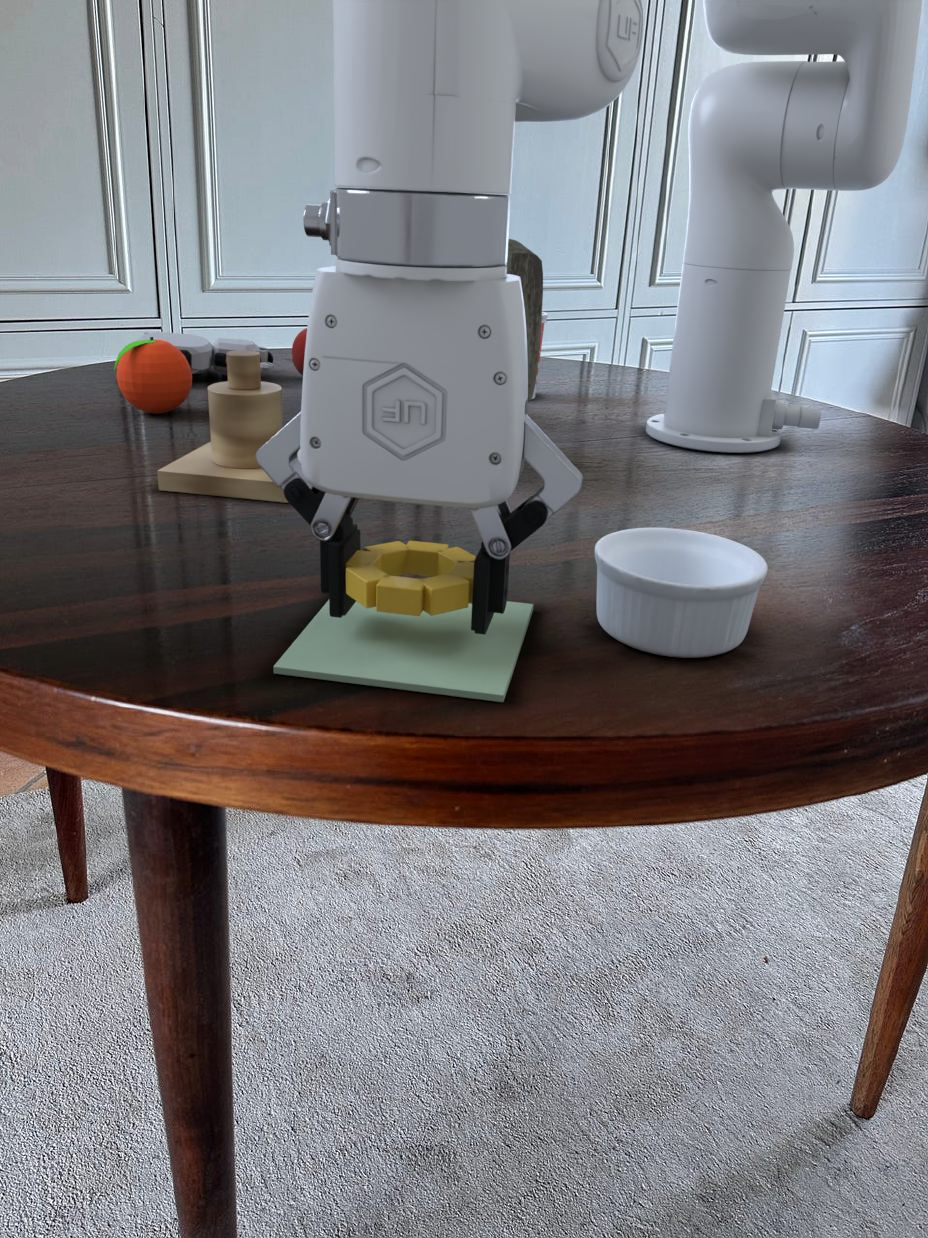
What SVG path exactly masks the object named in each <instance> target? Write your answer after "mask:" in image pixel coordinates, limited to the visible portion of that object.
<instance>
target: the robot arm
mask: <svg viewBox="0 0 928 1238" xmlns="http://www.w3.org/2000/svg"><path fill="white" fill-rule="evenodd" d="M702 5H703V15H704V23H705V28H706V32H707V35H708V38H709V39H710V42H712V43H713V45H714V46H715V47H716V48H718V49H720V50H721V51H723V52H726V53H731V54H736V55H746V56H805V55H806V56H808V55H809V56H810V55H835V56H836V55H837V56H839V57H841V58H842V60H843V61H841V60H840V61H806V60H793V61H792V60H784V61H783V60H778V61H777V60H776V61H773V60H772V61H771V60H769V61H768V60H767V61H750V62H741V63H737V64H732V65H728V66H724V67H723V68H720V69H718V70H716V71H714V72H712V73H711V74H710V75H708V76H707V77H706V78H705V79H704V80H703V81H702V82H701V84H700V85H699V86H698V88H697V90H696V91H695V93H694V96H693V97H692V101H691V104H690V109H689V115H688V125H687V126H688V127H687V140H688V142H687V143H688V164H689V165H688V170H689V171H688V172H689V174H688V175H689V176H688V177H689V180H688V184H689V185H688V186H689V187H688V208H687V221H686V232H685V240H684V249H683V257H682V265H681V273H680V282H679V288H678V298H677V306H676V314H675V321H674V322H675V323H674V330H673V338H672V347H671V354H670V355H671V357H670V362H669V363H670V364H669V371H668V379H667V387H666V388H667V389H666V396H665V403H664V404H665V405H664V413H659V414H655V415H652V416H651V417H649V418H648V419H647V420H646V424H645V426H646V427H645V432H646V433H647V435H648V436H650V437H651V438H653V439H654V440H657V441H659V442H661V443H665V444H667V445H672V446H675V447H678V448H679V447H680V448H683V449H689V450H697V451H704V452H714V453H731V454H733V453H734V454H735V453H737V454H741V453H746V454H747V453H756V452H757V453H759V452H765V451H771V450H773V449H775V448H776V447H778V446H779V445H780V444H781V439H782V436H783V435H782V430H783V428H784V426H788V427H797V428H799V429H811V430H818V429H819V427H820V424H821V418H822V409H821V407H813V406H812V407H810V406H804V404H796V403H789V404H788V403H786V402H784V401H779V400H778V399H777V397H776V395H775V394H774V392H773V389H772V388H773V382H774V375H775V369H776V363H777V358H778V351H779V346H780V339H781V334H782V327H783V321H784V315H785V310H786V304H787V303H786V302H787V297H788V292H789V285H790V278H791V272H792V267H793V264H794V263H793V262H794V255H795V241H794V237H793V236H794V235H793V232H792V229H791V227H790V225H789V223H788V221H787V218H786V217H785V215H784V214H783V212H782V210H781V209H780V207H779V205H778V203H777V202H776V200H775V197H774V195H773V192H775V191H777V190H778V191H779V190H780V191H781V190H782V191H783V190H789V189H790V190H811V191H836V192H837V191H838V192H846V191H847V192H850V191H851V192H853V191H856V192H857V191H866V190H870V189H873V188H875V187H877V186H879V185H880V184H881V185H882V184H883V182H885V181H887V179H888V178H889V177H890V176H891V174H892V173H893V171H894V170H895V168H896V166H897V164H898V161H899V160H900V157H901V153H902V150H903V147H904V142H905V138H906V133H907V128H908V127H907V126H908V120H909V113H910V105H911V97H912V89H913V82H914V81H913V80H914V74H915V73H914V72H915V65H916V64H915V63H916V57H917V47H918V39H919V32H920V23H921V15H922V10H923V9H922V7H923V0H702ZM332 23H333V24H332V26H333V27H332V33H333V34H332V37H333V38H332V40H333V42H332V43H333V45H332V49H333V50H332V51H333V134H334V136H333V139H334V149H333V150H334V187H335V189H330V190H329V198H328V201H323V202H321V204H310V203H309V204H306V206H305V207H304V211H303V217H302V219H303V230H304V233H305V235H306V236H307V237H309V238H310V237H312V238H321V239H322V241H328V244H329V247H330V254H331V256H333V255H334V256H335V265H331V266H325V267H319V268H316V272H315V277H314V281H313V285H312V292H311V297H310V305H309V311H308V318H307V327H306V328H307V336H306V346H305V357H304V370H303V376H302V384H301V401H300V402H301V403H300V412H298V413H297V415H295V416H294V417H292V419H291V420H290V421H289V422H287V423H286V424H284V425H283V428H282V429H281V430H280V431H279V432H278V433H276V434H275V435H274V436H273V437H272V438H271V439H270V440H269V441H268V442H266V443H265V444H264V445H263V446H262V447H261V448H260V449H259V450H258V451H257V452H256V456H255V457H256V461H257V463H258V464H259V466H260V467H261V468H262V469H263V470H264V471H265V473H266V474H267V475H268V476H269V477H270V478H271V480H272V481H273V482H274V483H275V484H276V485H277V486H278V487H280V488H281V489H282V490H283V491H284V496H285V498H286V500H287V501H288V502H289V503H288V504H290V506H292V508H293V509H294V510H295V511H296V512H297V513H298V514H299V515H300V516H301V517H302V519H304V521H306V523H307V524H308V525H309V526H310V532H311V535H312V536H313V538H315V539H316V540H318V541H319V563H320V565H319V567H320V568H319V569H320V570H319V571H320V591H321V593H322V594H323V595H324V594H325V595H328V600H329V612H330V616H331V617H338V618H341V617H342V616H345V615H346V614H347V613H348V611H349V610H350V609H351V607H352V606H353V605H354V604H355V602H356V600H354V599H353V598H351V597H350V596H349V595H347V594H346V563H347V562H348V561H349V559H350V558H351V557H352V556H353V555H354V554H355V553H356V551H357V550H361V530H360V529H359V528H358V523H357V524H356V523H354V518H353V517H352V514H353V513H354V510H355V508H356V506H357V504H358V502H359V500H360V499H365V500H374V501H375V500H377V501H385V502H396V503H406V504H417V505H426V506H438V507H449V508H461V509H462V508H463V509H468V510H469V512H470V514H471V517H472V519H473V521H474V524H475V526H476V529H477V531H478V534H479V536H480V538H481V543H480V544H481V545H480V549H479V550H478V552H477V554H476V555H475V556H476V558H475V561H474V575H473V596H472V617H471V630H473V631H475V634H484V635H485V634H486V632H487V630H488V627H489V625H490V622H491V620H492V618H493V615H494V613H501V614H503V613H504V611H505V608H506V603H507V601H508V591H509V590H508V589H509V578H510V577H509V575H510V563H511V562H510V559H511V551H513V550H514V549H516V547H518V546H520V545H521V543H523V542H524V541H525V540H527V539H528V538H529V537H530V536H532V535H533V534H534V533H535V532H537V531H538V530H540V528H542V527H543V526H544V524H545V523H546V522H547V521H548V520H549V519H551V517H553V516H554V515H555V514H557V513H558V512H559V511H560V510H561V509H563V508H564V507H565V506H566V505H567V504H568V503H570V501H571V500H573V499H574V498H575V497H576V496H577V495H579V493H580V492H581V490H582V488H583V487H582V486H583V483H584V476H583V474H582V472H581V471H580V470H579V469H578V468H577V466H576V465H574V464H573V463H572V461H571V460H570V459H569V458H568V457H567V456H566V455H565V454H564V453H563V452H562V450H560V448H559V447H558V446H557V445H556V444H555V443H554V442H553V441H552V440H551V439H550V437H548V435H546V434H545V432H544V431H542V429H541V428H540V427H539V426H538V424H536V423H535V422H534V421H533V420H532V419H531V417H530V416H529V402H528V356H527V333H526V319H525V309H524V300H523V292H522V286H521V279H520V277H519V276H516V275H511V274H506V273H507V264H506V263H507V255H508V239H509V236H510V235H509V233H510V217H511V202H512V201H511V199H512V198H511V196H510V195H512V185H513V183H512V182H513V165H514V149H515V131H516V130H515V129H516V123H568V122H573V121H574V122H575V121H578V120H582V119H586V118H589V117H591V116H595V115H596V114H598V113H600V112H602V111H604V110H605V109H606V108H607V107H609V106H610V105H611V104H612V103H614V102H615V100H617V98H619V96H620V95H621V94H622V93H623V91H624V90H625V89H626V87H627V85H629V82H630V80H631V78H632V76H633V74H634V72H635V70H636V67H637V64H638V61H639V59H640V53H641V49H642V45H643V44H642V43H643V37H644V9H643V3H642V0H332ZM299 450H300V456H301V463H300V462H299V460H298V457H297V454H298V451H299ZM525 462H527V463H528V464H529V466H530V467H531V468H532V469H533V470H534V471H535V472H536V473H537V474H538V475H539V476H540V477H541V479H542V480H543V483H544V484H543V485H542V486H541V487H540V488H539V489H538V490H537V491H536V492H535V493H534V494H533V495H531V496H529V497H528V498H527V499H526V500H525V501H523V502H522V503H520V504H519V505H518V506H517V507H516V508H514V509H513V510H512V507H511V505H510V502H509V498H510V497H511V496H512V495H513V493H514V492H515V491H516V488H517V485H518V482H519V479H520V477H521V476H522V474H523V471H524V468H525V465H526V464H525Z"/></svg>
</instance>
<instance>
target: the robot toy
mask: <svg viewBox="0 0 928 1238" xmlns="http://www.w3.org/2000/svg"><path fill="white" fill-rule="evenodd" d="M150 337H153V340H163V341H167V342H169V343H171V344H172V345H174V346H175V347H176V348H178V349H179V350H180V351H181V352H182V353H183V355H184V356H185V357H186V359H187V361H188V363H189V365H190V368H191V373H192V375H199V374H203V373H205V372H208V371H209V369H211V368H213V369H214V371H215V372H216V373H217V374H218V375H225V376H228V374H227V356H226V354H227V352H230V351H237V350H248V351H256V352H259V353H260V368H261V373H264V372H270V371H272V370H275V365H274V355H273V354H272V353H271V352H270V350H268V348H267V347H265V346H258V345H257V344H256V343H255V342H254V341H253V340H250V339H249V340H248V339H241V338H227V337H226V338H223V337H219V338H217V339H216V340H215V341H214V342H213V344H212V343H211V342H210V341H209V339H207V338H205V337H204V336H201V335H197V334H190V333H180V332H179V333H178V332H166V331H156V332H155V331H154V332H148V331H146V332H145V331H144V332H143V334H142V335H141V336H140V337H139V338H138V339H136V341H140V340H148V339H150Z"/></svg>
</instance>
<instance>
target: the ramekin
mask: <svg viewBox="0 0 928 1238" xmlns="http://www.w3.org/2000/svg"><path fill="white" fill-rule="evenodd" d="M594 559H595V564H596V599H595V601H596V618H597V621H598V623H599V626H601V628H602V629H603V631H605V632H606V633H607V634H608V635H609V636H611V637H612V638H613V639H614V640H616V641H618V642H619V643H621V644H624V645H625V646H628V647H630V648H633V649H636V650H639V651H642V652H646V653H650V654H654V655H657V656H663V657H669V658H684V659H686V658H687V659H695V658H696V659H697V658H707V657H708V658H709V657H713V656H714V657H715V656H718V655H722V654H725V653H728V652H730V651H731V650H734V649H735V648H737V647H738V646H740V644H742V643H743V641H744V639H745V638H746V635H747V633H748V631H749V627H750V624H751V620H752V616H753V613H754V609H755V604H756V602H757V598H758V594H759V591H760V587H761V586H762V585H763V584H764V582H765V579H766V576H767V573H768V569H769V568H768V567H769V566H768V564H767V562H766V559H765V558H764V557H763V556H762V555H761V554H760V553H758V552H757V551H755V550H754V549H752V548H750V547H748V546H747V545H745V544H742V543H740V542H737V541H735V540H732V539H729V538H727V537H723V536H720V535H716V534H712V533H707V532H702V531H696V530H689V529H683V528H682V529H681V528H672V527H636V528H628V529H621V530H619V531H615V532H610V533H609V534H606V535H604V536H602V537H601V538H600V539H599V540H598V541H597V542H596V543H595V545H594Z"/></svg>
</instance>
